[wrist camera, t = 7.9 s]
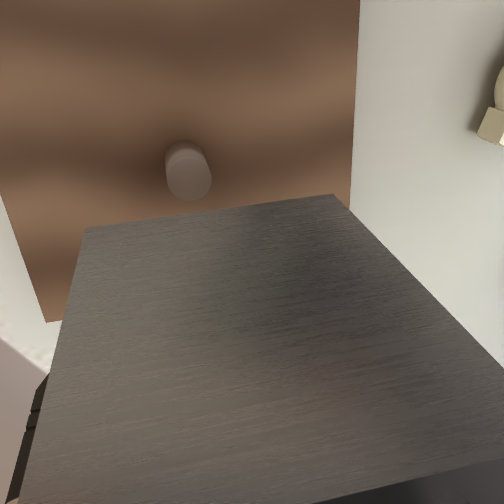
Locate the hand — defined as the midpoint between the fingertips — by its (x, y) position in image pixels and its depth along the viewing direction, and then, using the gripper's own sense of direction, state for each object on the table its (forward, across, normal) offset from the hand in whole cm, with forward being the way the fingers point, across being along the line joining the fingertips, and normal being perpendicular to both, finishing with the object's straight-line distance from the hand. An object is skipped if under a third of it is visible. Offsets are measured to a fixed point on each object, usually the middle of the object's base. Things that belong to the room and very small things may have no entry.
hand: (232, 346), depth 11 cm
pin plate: (+16, 0, 0) cm, 16 cm away
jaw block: (+1, 0, 0) cm, 1 cm away
